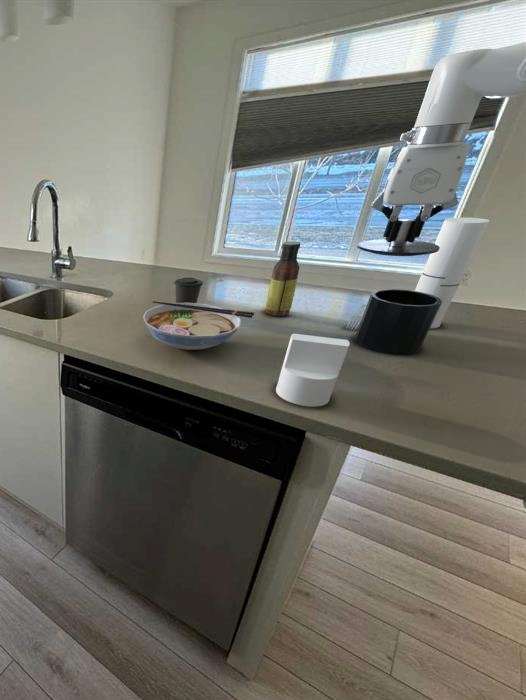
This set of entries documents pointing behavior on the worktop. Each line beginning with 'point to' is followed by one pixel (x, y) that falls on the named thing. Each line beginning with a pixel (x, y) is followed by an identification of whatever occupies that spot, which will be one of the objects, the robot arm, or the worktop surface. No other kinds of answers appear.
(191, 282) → the coffee cup
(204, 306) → the ramen bowl
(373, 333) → the cup
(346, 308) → the worktop surface
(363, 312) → the fork
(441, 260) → the cylindrical container
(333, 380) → the base with upright slab
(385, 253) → the tin lid
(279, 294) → the sauce bottle
